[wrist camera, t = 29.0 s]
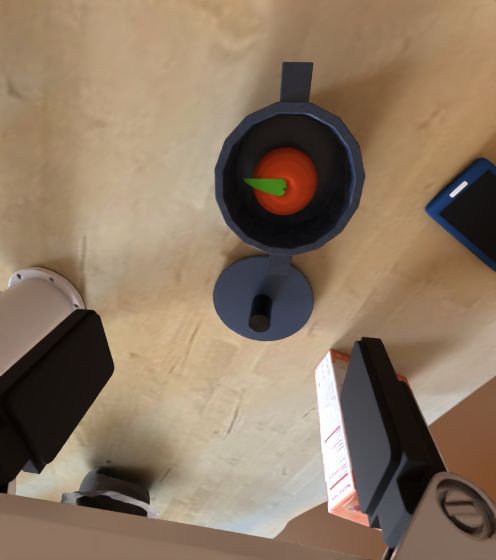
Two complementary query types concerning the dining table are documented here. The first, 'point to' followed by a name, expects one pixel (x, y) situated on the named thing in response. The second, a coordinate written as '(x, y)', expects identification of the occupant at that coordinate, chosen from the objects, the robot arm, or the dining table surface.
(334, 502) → the cracker box
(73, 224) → the dining table surface
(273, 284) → the lid
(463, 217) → the cell phone
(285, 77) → the pot
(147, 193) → the dining table surface
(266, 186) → the clementine
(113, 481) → the stone bowl
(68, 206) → the dining table surface
